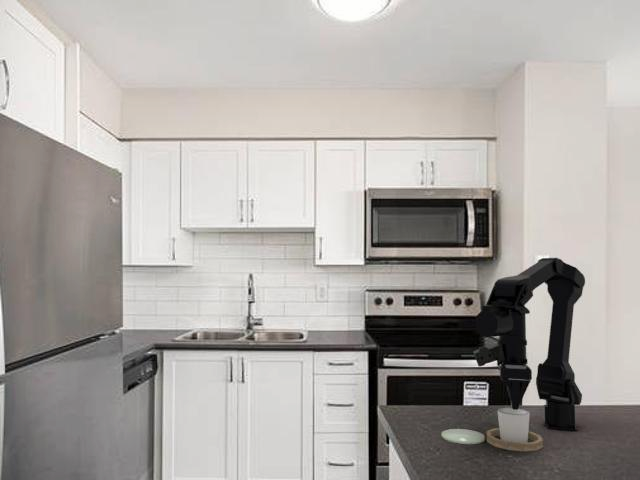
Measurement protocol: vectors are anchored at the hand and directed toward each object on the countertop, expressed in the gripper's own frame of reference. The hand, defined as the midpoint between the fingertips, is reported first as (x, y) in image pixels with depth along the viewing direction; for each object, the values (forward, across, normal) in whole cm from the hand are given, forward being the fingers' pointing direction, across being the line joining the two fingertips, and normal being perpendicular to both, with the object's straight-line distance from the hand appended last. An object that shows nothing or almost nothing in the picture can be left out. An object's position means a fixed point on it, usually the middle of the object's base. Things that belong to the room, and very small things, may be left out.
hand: (513, 404), depth 117 cm
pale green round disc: (+8, 0, -11) cm, 14 cm away
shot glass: (+9, 0, 0) cm, 9 cm away
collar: (+8, 0, 0) cm, 8 cm away
